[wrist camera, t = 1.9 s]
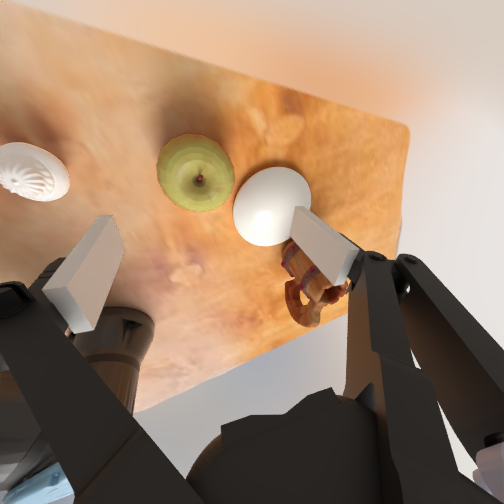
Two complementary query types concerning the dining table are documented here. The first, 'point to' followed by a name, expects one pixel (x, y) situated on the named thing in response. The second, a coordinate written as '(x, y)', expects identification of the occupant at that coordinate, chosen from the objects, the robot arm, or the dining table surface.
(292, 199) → the plate
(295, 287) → the mug
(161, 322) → the dining table surface
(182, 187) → the apple
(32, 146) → the white rounded piece
